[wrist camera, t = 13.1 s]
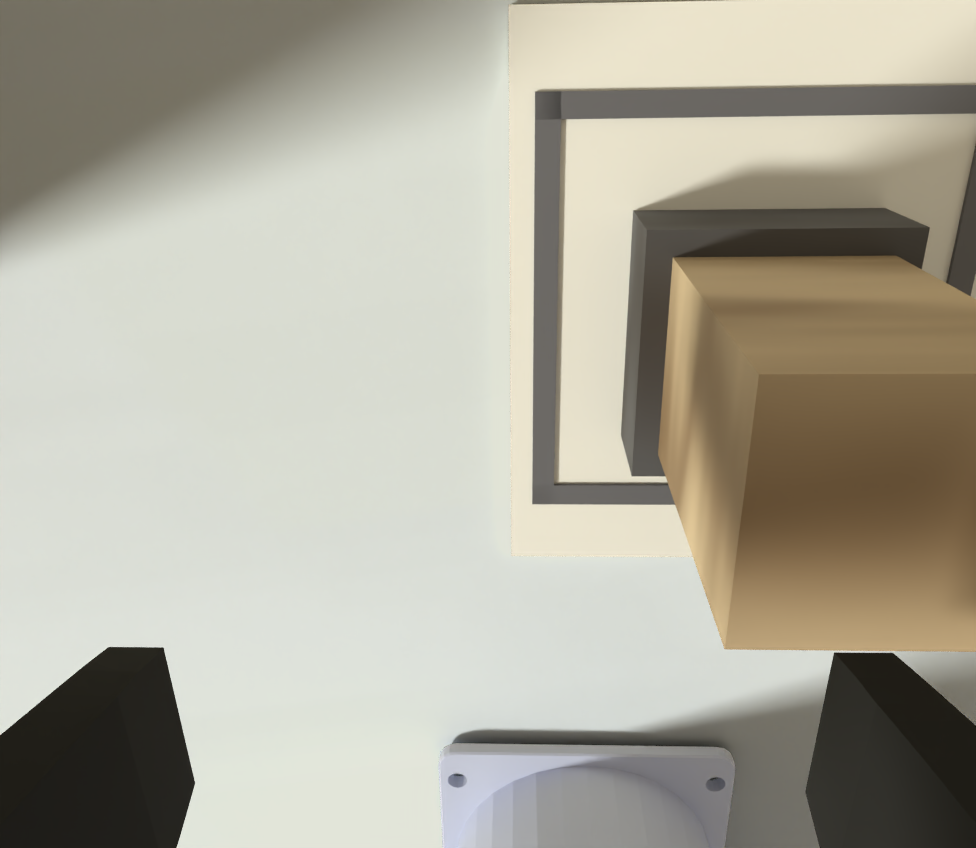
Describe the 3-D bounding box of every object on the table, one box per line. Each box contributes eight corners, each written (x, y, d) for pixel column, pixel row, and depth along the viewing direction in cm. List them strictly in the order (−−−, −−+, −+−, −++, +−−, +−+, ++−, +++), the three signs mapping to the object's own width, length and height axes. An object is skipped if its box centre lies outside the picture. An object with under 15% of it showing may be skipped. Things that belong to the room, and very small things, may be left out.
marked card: (926, 553, 20) (931, 560, 20) (511, 551, 20) (511, 558, 20) (1057, -6, 15) (1067, -7, 15) (508, 5, 16) (508, 4, 15)
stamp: (845, 435, 19) (1053, 681, 11) (621, 435, 19) (685, 678, 12) (885, 207, 17) (1170, 331, 9) (633, 210, 17) (720, 333, 10)
